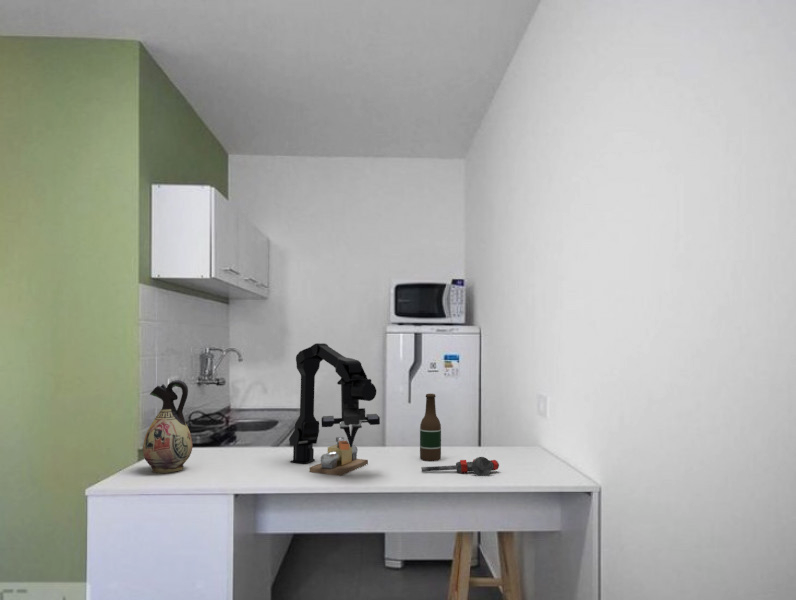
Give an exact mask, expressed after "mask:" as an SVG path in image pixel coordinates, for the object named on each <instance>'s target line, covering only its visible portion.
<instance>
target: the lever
mask: <svg viewBox="0 0 796 600" xmlns="http://www.w3.org/2000/svg"><path fill="white" fill-rule="evenodd" d="M335 442H338V443H339V448H340V449H341V450H349V445H350V444H349V441H348V440H345V437H343V436H342V437H341V436H336V437H335Z"/></svg>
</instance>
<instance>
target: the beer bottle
mask: <svg viewBox="0 0 796 600" xmlns="http://www.w3.org/2000/svg"><path fill="white" fill-rule="evenodd" d="M436 397H437V395H436V394H435V393H427V394H425V398H426V399H425V401H426V402H425V410H424V411H425V413H424V416H423V418H422V420H421V421H420V425H419V459H420V460H421V461H424V462H439V461H440V460H441V459H442V428H441V427H442V424H441V422H440V421H441V420H440V419H439V417H438V416H437V412H436V411H437V410H436V409H437V408H436Z"/></svg>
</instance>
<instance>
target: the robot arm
mask: <svg viewBox="0 0 796 600" xmlns="http://www.w3.org/2000/svg"><path fill="white" fill-rule="evenodd" d="M295 361H296V362H295V363H296V369H297V371H298V373H299V374H300V397H299V398H300V399H299V402H300V404H299V416H298V418H297V420H296V421H295V423H294V430H293V432H292V433H291V435H290V436H289V438H288V442H289V445H290V446H293V450H292V451H293V452H292V453H293V454H292V455H293V456H292V458H293V459H291V460H290V463H295V464H296V463H297V464H305V465H306V464H308V463H311V462H314V461H316V459H315V458H314V451H315V450H314V449H315V448H313V447H314V446H313V445H315V444H317V442H318V437H319V434H320V421H319V420H317V419H316V417H315V382H316V381H315V379H316V378H315V377H316V374H317V373H318V371H319V369H320V365H321V362H322V361H325V362H326V363H328V364H329V365H331V366H333V367H334V370H335V371H334V372H335V373H336V374H337V375H338V377H340V379H339V380H338V381H337V383H336V384H337V385H340V389H341V390H340V396H341V397H340V398H341V399H340V401H341V402H340V403H341V405H340V406H341V409H340V410H341V417H334V415H323V416H321V428H331V427H333V426H334V425H338V424H339V429H340V430H343V431H344V433H345V435H346V437H347V442H348V443H349V445H350V447H352V445H354V442H355V441H354V440H355V437H356V434H357V433H358V430H359V429H362V427H363V426H362V424H363V423H368V424H369V425H370V426H373V425H374V426H375V425H376V426H377V425H380V424H381V420H380V419H381V417H380V416H379V414H377V413H366V408H362V407H361V408H360V401H367V402H371V401H373V400H374V399H375V398H376V395H377V388H376V386H375V385H374V383H372V379H371V378H368V376H367V374H366V372H365V370H364V368H363V366H362V363H361V361H360V360H359V359H358V360H357V359H354V358H351V357H346V356H344V355H342V354H341V353H339V352H338V351H336V350H335V349H333V348H332V347H330V346H329V344H327V343H324V342H323V343H320V342H319V343H313V345H311V346H309V347H307V348H304V349H302V350H300V351H299V352H298V353H297V354H296V356H295ZM350 426H351V429H350Z"/></svg>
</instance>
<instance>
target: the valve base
mask: <svg viewBox="0 0 796 600" xmlns="http://www.w3.org/2000/svg"><path fill="white" fill-rule="evenodd" d="M357 454H358V447H357V446H356V444H353V445H352V447H350V444H349V450H341V449H340V448H339V443H338V442H337V443H336V444H334V445H331V446H328V447H327V453H324V454H322V455H321V456H320V463H318V464H314V465H312V466H309V473H315V474H324V475H332V476H343V475H346V474H349V473H351V472H354V471H355V469H356V470H357V468H358V469H359V467H360V468H363V467H365V466H367V465H369V459H364V458H363V459H362V458H357V456H358V455H357ZM366 464H367V465H366ZM364 465H365V466H364ZM362 466H363V467H362Z"/></svg>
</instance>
